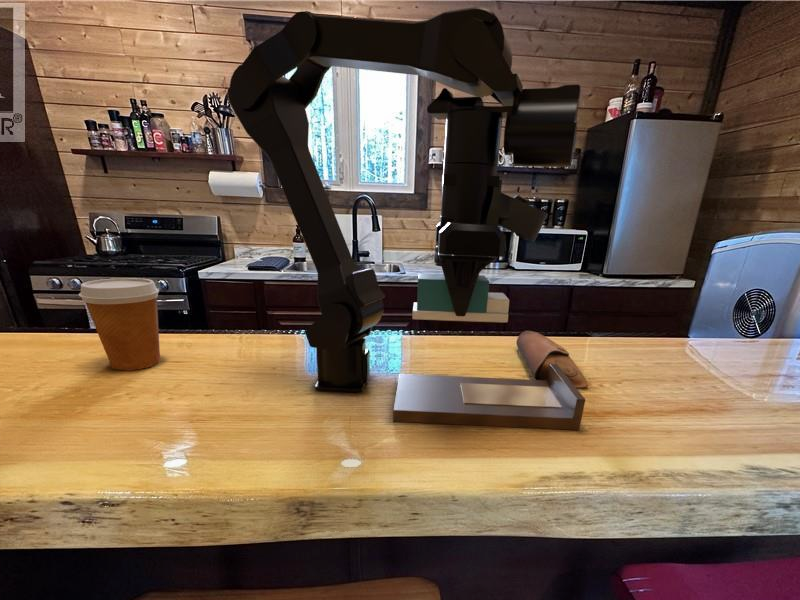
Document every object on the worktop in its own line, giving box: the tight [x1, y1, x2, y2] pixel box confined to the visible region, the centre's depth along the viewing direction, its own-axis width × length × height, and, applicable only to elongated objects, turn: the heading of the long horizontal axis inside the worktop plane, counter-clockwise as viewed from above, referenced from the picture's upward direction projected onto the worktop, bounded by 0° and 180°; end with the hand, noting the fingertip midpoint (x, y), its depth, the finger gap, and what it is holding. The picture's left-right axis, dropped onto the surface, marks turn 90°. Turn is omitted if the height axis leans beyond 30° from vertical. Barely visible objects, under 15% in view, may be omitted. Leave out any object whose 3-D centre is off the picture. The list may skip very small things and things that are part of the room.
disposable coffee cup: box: [78, 277, 161, 371], centre depth 63 cm, size 10×10×12 cm
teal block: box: [411, 272, 510, 323], centre depth 51 cm, size 11×5×5 cm, turn 89°
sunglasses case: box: [516, 330, 589, 389], centre depth 71 cm, size 18×7×7 cm
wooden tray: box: [392, 364, 586, 431], centre depth 56 cm, size 22×12×4 cm, turn 89°
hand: (458, 310), depth 52 cm, fingers closed on teal block, 5 cm apart
